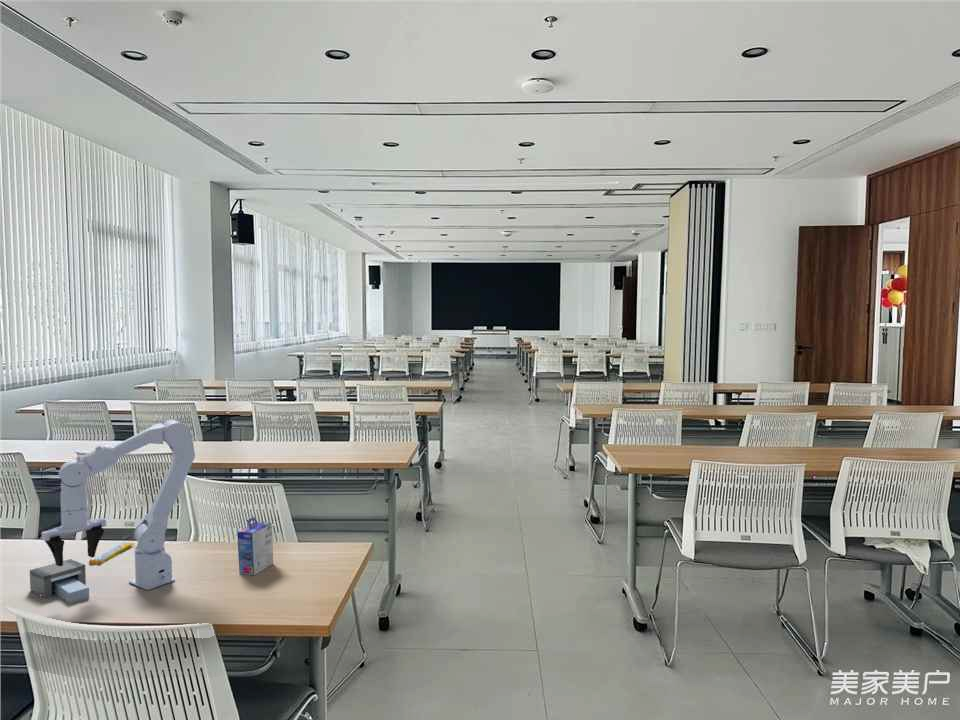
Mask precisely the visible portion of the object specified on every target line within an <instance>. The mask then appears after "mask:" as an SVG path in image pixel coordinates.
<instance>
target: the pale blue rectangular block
mask: <svg viewBox="0 0 960 720" xmlns="http://www.w3.org/2000/svg"><path fill="white" fill-rule="evenodd" d="M53 591H54V592H55V593H54V592H53ZM52 592H53V593H54V594H56V595H57V594H58V595H57V596H59V598H61V597H62V598H61V599H63V600H64V599H65V600H64V601H65V602H69V603H68V604H72V603H75V602H79V601H82V599H83V600H85V598H86V599H89V598H90V587H89V586H88V585H84V584H83V583H81V582H80V581H78V580H77V579H75V578H73V577H72V576H70V577H67V578H63V579H60V580H56V581H53V582H52ZM88 597H89V598H88Z"/></svg>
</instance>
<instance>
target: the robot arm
mask: <svg viewBox="0 0 960 720" xmlns="http://www.w3.org/2000/svg"><path fill="white" fill-rule="evenodd" d="M193 437H194V436H193V434H192V432H191V430H190V429H189V427H188V426H187V425H186V424H184V423H182V422H180V421H179V420H177V419H174V418H173V419H172V418H171V419H170V418H169V419H166V420H164V421H162V422H159V423H156V424H153V425H151V426H150V427H148V428H146V429H143V430H142V431H139V433H137V434H134V435H133V436H131V437H129V438H127V439H125V440H124V441H121V442H119V443H118V444H116V445H113V446H111V445H107V444H106V445H103V446H101V445H97V446H95V447H94V450H92V451H90V452H88V453H86V454H84V455H82V456H80V455H78V456H76V457H75V460H68V461H66V462H64V463H63V464H62V465H61V466H60V468H59V471H58V476H59V478H60V480H61V482H60V489H61V490H60V518H61V520H60V521H61V525H60V526H57V527H53V528H52V529H48V530H44V531H41V532H40V533H41V540H42V541H44V542H45V543H46V545H47V546H48V548H49V549H50V551H51V553H52V556H53V558H54V562H55V563H56V565H57V566H63V561H64V545H65V540H63V539H62V537H64V536H69V535H73V534H76V533H77V534H78V533H80V532H85V534H86V535H85V536H86V541H87V543H86V544H87V556H88V557H90V558H94V557H95V556H96V552H97V548H98V545H99V542H100V540H101V538H102V536H103V535H104V533H105V529H104V528H105V527H107V519H106V518H103V517H101V518H95V519H88V491H87V488H86V486H87V485H86V481H87V480H88V477H94V476H96V475H98V474H99V473H101V472H102V473H103V471H105V470H107V469H109V468H111V467H114V466H115V465H117V464H118V461H119V459H120V458H121V457H123V456H125V455H127V454H128V455H129V454H130V453H132V452H135V451H137V450H139V449H142V448H143V447H145V446H148V445H149V444H154V445H164V443H166V444H167V446H169V449H170V450H171V451H170V452H171V453H172V455H173V458H172V461H171V463H170V466H169V468H168V470H167V472H166V474H165V475H164V478H163V481H162V483H161V485H160V487H159V490H158V492H157V494H156V496H155V499H154V500H153V502H152V505H151V507H150V509H149V511H148V512H147V513H146V514H145V515H144V517H143V519H142V521H141V522H140V523H139V524H137V526H136V527H135V529H134V531H133V537H134V539H135V540H136V542H137V545H136V546H135V548H134V568H135V569H134V570H135V571H134V572H135V574H134V575H135V577H134V578H133V579H130V580H128V583H129V584H132V585H135V586H137V587H139V588H141V589H144V590H147V591H148V590H151V589H155V588H157V587H160V586H163V585H166V584H170V583H172V582H175V581H176V578H174V577H173V565H172V564H173V563H172V561H173V560H172V557H171V556H170V555H169V554H168V553H167V552H166V549H165V541H166V535H165V534H166V531H167V528H168V523H169V522H168V521H169V516H170V514H171V512H172V509H173V508H174V506H175V503H176V501H177V498H178V496H179V494H180V492H181V489H182V487H183V485H184V483H185V480H186V478H187V475H188V473H189V472H190V469H191V468H192V465H193V462H194V460H195V458H196V452H195V446H194V439H193ZM95 558H96V557H95Z"/></svg>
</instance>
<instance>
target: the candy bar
mask: <svg viewBox="0 0 960 720" xmlns="http://www.w3.org/2000/svg"><path fill="white" fill-rule="evenodd" d="M134 545H135V542H122V544H119V545H117V546H115V547H113V548H110V549H109V550H108V551H105V552H104V553H102V554H101V555H99V556H97V557H95V558H93V559H89V561H88V564H89V565H101V564H103V563H105V562H108V561H109V560H111V559H113V558H115V557H117V556H118V554H119V555H121V554H122V553H124V552H126V551H128V550H129V549H130V548H131V547H134Z"/></svg>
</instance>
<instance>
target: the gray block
mask: <svg viewBox="0 0 960 720" xmlns="http://www.w3.org/2000/svg"><path fill="white" fill-rule="evenodd" d="M70 576H72V577H73V578H75V579H77V580H78V581H80V582H81V583H83V584H84V585H86V584H87V581H86V580H87V577H86V564H84V563H82V562H80V561H76V560H74V559H67V560H63V566H57V565H56V562H55V563H52V564H47V565H44V566H41V567H37V568H33V569H30V570H29V588H30V589H29V591H30V590H31V591H30V592H32V591H33V592H32V593H34V592H35V593H34V594H36V593H37V594H36V595H38V594H39V595H38V596H40V595H41V596H40V597H42V596H43V597H42V598H44V597H46V598H49V597H52V596H53V591H52V582H53V581H56V580H60V579H63V578H67V577H70ZM86 586H87V585H86ZM51 595H52V596H51ZM48 596H49V597H48Z"/></svg>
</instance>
